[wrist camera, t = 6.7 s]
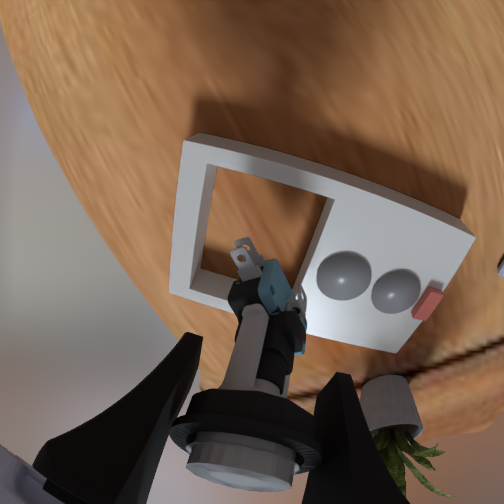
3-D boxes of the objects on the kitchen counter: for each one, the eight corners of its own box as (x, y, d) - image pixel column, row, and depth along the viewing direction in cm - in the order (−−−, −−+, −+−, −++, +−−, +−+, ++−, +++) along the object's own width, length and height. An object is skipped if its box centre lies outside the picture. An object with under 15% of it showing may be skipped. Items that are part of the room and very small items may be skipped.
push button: (200, 248, 15) (99, 419, 7) (297, 214, 13) (260, 435, 5) (255, 336, 18) (213, 490, 9) (339, 317, 16) (334, 495, 7)
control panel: (460, 219, 16) (480, 242, 13) (391, 331, 22) (397, 359, 20) (199, 132, 17) (179, 142, 14) (181, 272, 23) (165, 297, 20)
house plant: (283, 395, 30) (257, 532, 16) (368, 326, 22) (376, 529, 9) (373, 423, 31) (370, 535, 18) (457, 370, 24) (481, 506, 10)
